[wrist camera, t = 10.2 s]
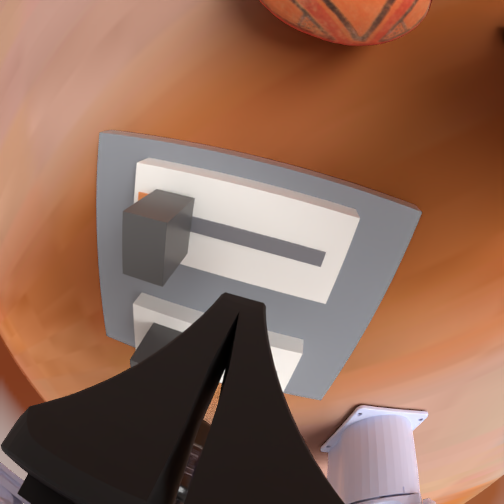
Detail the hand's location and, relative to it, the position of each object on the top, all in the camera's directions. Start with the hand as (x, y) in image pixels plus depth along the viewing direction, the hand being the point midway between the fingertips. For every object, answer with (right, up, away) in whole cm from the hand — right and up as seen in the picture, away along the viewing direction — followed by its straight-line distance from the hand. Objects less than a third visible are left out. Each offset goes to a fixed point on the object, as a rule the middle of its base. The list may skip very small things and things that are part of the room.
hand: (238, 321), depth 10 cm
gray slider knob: (-3, +4, +5) cm, 7 cm away
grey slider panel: (-1, 0, +9) cm, 10 cm away
